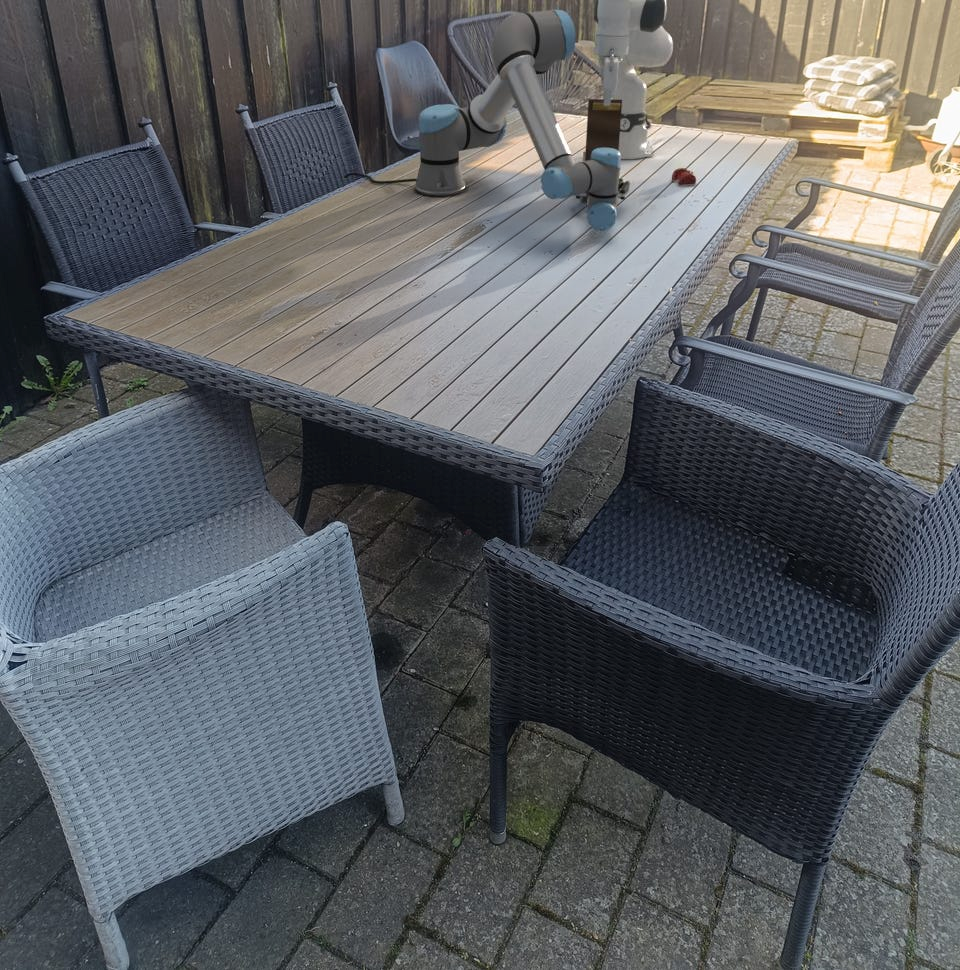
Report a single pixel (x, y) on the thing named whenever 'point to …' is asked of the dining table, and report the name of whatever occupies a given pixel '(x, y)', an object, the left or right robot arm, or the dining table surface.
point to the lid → (602, 125)
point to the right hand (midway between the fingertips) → (606, 104)
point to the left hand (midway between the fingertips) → (599, 177)
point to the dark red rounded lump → (684, 176)
